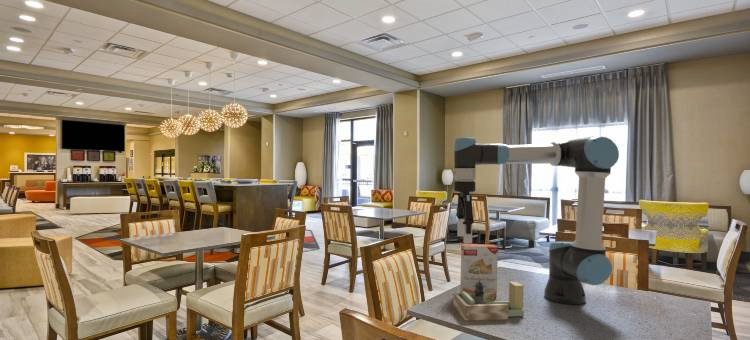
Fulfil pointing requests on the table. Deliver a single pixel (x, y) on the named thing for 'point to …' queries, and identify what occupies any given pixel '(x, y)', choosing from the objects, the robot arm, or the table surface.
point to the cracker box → (479, 267)
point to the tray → (513, 303)
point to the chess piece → (479, 293)
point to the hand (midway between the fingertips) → (464, 239)
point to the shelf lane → (480, 308)
